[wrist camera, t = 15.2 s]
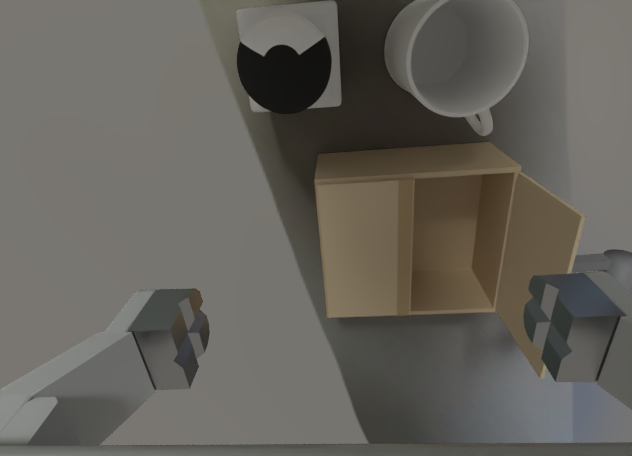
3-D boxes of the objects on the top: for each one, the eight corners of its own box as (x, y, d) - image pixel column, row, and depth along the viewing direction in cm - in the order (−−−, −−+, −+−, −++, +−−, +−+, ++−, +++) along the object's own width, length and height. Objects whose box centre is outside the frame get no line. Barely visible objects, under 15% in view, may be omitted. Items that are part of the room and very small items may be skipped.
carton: (318, 153, 42) (313, 182, 34) (489, 141, 40) (524, 168, 33) (328, 275, 49) (327, 321, 42) (474, 269, 48) (499, 315, 40)
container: (341, 92, 39) (342, 120, 27) (265, 98, 40) (236, 128, 28) (336, 4, 35) (336, -6, 24) (253, 12, 36) (214, 6, 25)
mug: (495, 100, 39) (555, 129, 28) (414, 138, 41) (441, 178, 30) (460, -25, 34) (515, -47, 23) (369, 25, 36) (383, 25, 25)
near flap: (581, 216, 26) (673, 209, 25) (519, 172, 33) (588, 166, 33) (540, 379, 32) (612, 374, 32) (496, 311, 40) (554, 307, 40)
